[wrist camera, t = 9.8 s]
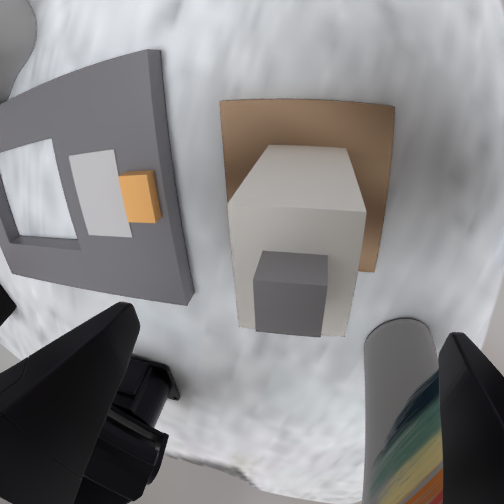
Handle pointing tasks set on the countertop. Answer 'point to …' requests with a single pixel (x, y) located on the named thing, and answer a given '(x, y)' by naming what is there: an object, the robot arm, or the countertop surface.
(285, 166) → the plug
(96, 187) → the grey square tray
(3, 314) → the battery
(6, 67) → the lumpy-topped squat cylinder
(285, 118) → the rest pad
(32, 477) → the robot arm
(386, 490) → the lotion bottle
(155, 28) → the countertop surface
